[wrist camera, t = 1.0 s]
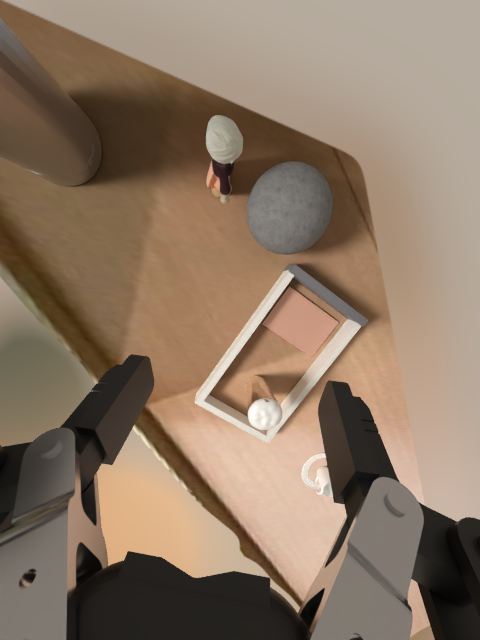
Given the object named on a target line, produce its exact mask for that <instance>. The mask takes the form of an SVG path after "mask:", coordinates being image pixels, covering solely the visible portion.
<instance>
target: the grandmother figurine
mask: <svg viewBox="0 0 480 640" xmlns="http://www.w3.org/2000/svg"><path fill="white" fill-rule="evenodd" d="M206 146H207V150H208V152H209V153H210V155H211V157H212V161H211V164H210V168H209V171H208V175H207V180H206V184H207V187H208V188H210V187H211V186H212V193H213V195H214V196H215V197H220V200H221V202H222V203H223V204H227V203H228V202H229V195H230V194H231V192H232V186H231V184H230V181H229V177H230V175H231V173H232V171H233V169H234V160H235V159H237V158H238V157H239V156H240V154H241V153H242V150H243V137H242V135H241V133H240V131H239V129H238V127H237V125H236V124H235V122H234V121H233V120H231V119H229V118H227V117H225V116H221V115H215V116H213V117H212V118H211V119H210V121H209V122H208V126H207V133H206Z"/></svg>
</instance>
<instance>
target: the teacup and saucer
mask: <svg viewBox="0 0 480 640" xmlns="http://www.w3.org/2000/svg"><path fill="white" fill-rule="evenodd" d="M320 458H326V455H325V453H320V454H317V455H315V456H313V457H311V458H310V459H309V460H308V461H307V462H306V463H305V464H304V466H303V468H302V478H303V481H304V482H305V483H306V484H307V485H308V486H310V487H312V488H315V491H316V493H317V494H318V495H322V494H323V493H324V495H326V496H329V497H331V496H333V493H332V488H331V482H330V477H329V471H328V468H327V467H325V466H322V467H320V468H319V469H318V470H317V477H316V480H315V482H313V481H311V480H310V479H309V477H308V468H309V466H310V465H311V464H312V463H313V462H314V461H315V460H317V459H320ZM318 481H319V483H318ZM317 489H321V492H320V493H318V492H317Z"/></svg>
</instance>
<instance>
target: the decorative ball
mask: <svg viewBox="0 0 480 640" xmlns="http://www.w3.org/2000/svg"><path fill="white" fill-rule="evenodd" d="M332 209H333V198H332V193H331V189H330V186H329V184H328V182H327V180H326V179H325V177H324V176H323V175H322V174H321V173H320V172H319V171H318V170H317V169H316V168H314V167H313V166H311V165H309V164H306V163H303V162H297V161H289V162H283V163H280V164H278V165H275V166H273V167H271V168H270V169H268V170H267V171H266V172H265V173H264V174H263V175H262V176H261V177H260V178H259V179H258V180H257V182H256V183H255V184H254V186H253V188H252V190H251V193H250V195H249V198H248V203H247V221H248V225H249V228H250V231H251V233H252V235H253V236H254V238H255V239H256V241H257V242H258V243H259V244H260V245H261V246H262V247H264V248H265V249H267V250H269V251H271V252H273V253H277V254H284V255H288V254H295V253H299V252H301V251H304V250H306V249H308V248H309V247H311V246H312V245H313V244H315V243H316V242H317V241H318V240H319V239H320V237H321V236H322V235H323V233H324V232H325V230H326V229H327V227H328V224H329V222H330V219H331V215H332Z"/></svg>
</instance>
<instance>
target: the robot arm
mask: <svg viewBox="0 0 480 640" xmlns="http://www.w3.org/2000/svg"><path fill="white" fill-rule="evenodd" d="M0 156H1V157H3V158H5V159H7V160H9V161H11V162H13V163H15V164H17V165H19V166H21V167H23V168H25V169H27V170H29V171H31V172H33V173H35V174H37V175H39V176H41V177H43V178H45V179H47V180H49V181H51V182H53V183H56V184H59V185H63V186H76V185H81V184H83V183H85V182H87V181H88V180H89V179H91V178H92V177H93V176H94V174H95V173H96V172H97V170H98V168H99V165H100V163H101V157H102V145H101V141H100V137H99V134H98V132H97V130H96V128H95V126H94V125H93V123H92V122H91V120H90V119H89V118H88V117H87V115H86V114H85V113H84V112H83V111H82V110H81V109H80V108H79V106H78V105H77V104H76V103H75V102H74V101H73V100H72V98H71V97H70V96H69V95H68V94H67V93H66V91H65V90H64V89H63V88H62V87H61V86H60V85H59V84H58V82H57V81H56V80H55V79H54V78H53V77H52V76H51V75H50V73H49V72H48V71H47V70H46V69H45V68H44V67H43V66H42V64H41V63H40V62H39V61H38V60H37V59H36V58H35V56H34V55H33V54H32V53H31V52H30V51H29V50H28V49H27V47H26V46H25V45H24V44H23V43H22V42H21V41H20V40H19V38H18V37H17V36H16V35H15V34H14V33H13V32H12V31H11V29H10V28H9V27H8V26H7V25H6V24H5V23H4V22H3V20H2V19H1V18H0ZM153 387H154V377H153V372H152V367H151V362H150V358H149V357H147V356H139V355H130V356H129V357H128V358H127V359H126V360H125V362H124V363H123V364H122V365H116V366H114V367H113V368H112V369H110V370H109V371H107V372H106V373H105V374H104V375H103V377H102V378H101V379H100V380H99V381H98V384H96V385H95V386H94V388H93V389H92V390H91V392H90V393H89V394H88V395H87V396H86V397H85V399H84V400H83V401H82V402H81V403H80V405H79V406H78V407H77V408H76V409H75V411H74V412H73V413H72V414H71V415H70V417H69V418H68V419H67V420H66V421H65V423H64V424H63V425H62V426H61V427H60V428H56V429H53V430H50V431H47V432H45V433H44V434H42V435H40V436H39V437H38V438H37V439H35V440H34V441H33V442H30V443H24V444H17V445H11V446H5V447H1V446H0V640H409V638H410V634H411V628H412V610H411V607H410V606H409V604H408V601H407V596H408V590H409V586H410V581H411V579H413V580H414V581H416V582H417V583H418V586H419V589H420V593H421V596H422V599H423V602H424V606H425V609H426V612H427V615H428V619H429V622H430V625H431V628H432V632H433V635H434V638H435V640H480V520H478V519H475V518H470V517H468V518H464V519H461V520H460V521H458V522H456V521H454V520H452V519H450V518H448V517H446V516H444V515H442V514H440V513H438V512H436V511H434V510H432V509H430V508H428V507H426V506H424V505H422V504H421V503H419V502H418V501H417V499H416V498H415V496H414V495H413V494H412V493H411V492H410V491H409V490H408V489H407V488H406V487H405V486H404V485H403V484H401V483H400V482H399V480H398V478H397V476H396V474H395V472H394V469H393V467H392V464H391V462H390V459H389V457H388V454H387V452H386V449H385V447H384V444H383V442H382V439H381V437H380V434H378V429H377V427H376V424H375V423H374V419H373V417H372V414H371V412H370V409H369V408H368V406H367V405H366V404H365V403H364V402H363V400H362V399H361V398H360V397H354V396H353V395H352V392H351V390H350V387H349V385H348V383H344V382H337V381H328V382H327V384H326V386H325V389H324V392H323V394H322V397H321V400H320V402H319V407H318V416H319V422H320V427H321V433H322V438H323V444H324V449H325V455H326V460H327V466H328V471H329V477H330V482H331V488H332V493H333V498H334V503H340V504H345V509H346V514H347V515H346V517H345V519H344V521H343V523H342V525H341V527H340V530H339V532H338V534H337V536H336V538H335V540H334V542H333V545H332V547H331V549H330V551H329V553H328V555H327V557H326V559H325V562H324V564H323V566H322V568H321V570H320V572H319V573H318V575H317V577H316V578H315V580H314V582H313V583H312V585H311V587H310V589H309V591H308V593H307V595H306V597H305V599H304V601H303V604H302V606H301V608H300V610H299V612H298V613H297V612H296V610H295V609H294V608H293V607H292V605H291V604H290V603H289V602H288V601H287V600H286V599H285V598H284V597H283V596H281V595H280V594H279V593H278V592H277V591H275V590H274V589H272V588H271V587H270V578H267V577H262V576H257V575H251V574H246V573H241V572H235V571H233V572H227V573H222V574H217V575H212V576H207V577H202V578H193V577H191V576H190V575H188V574H186V573H185V572H183V571H182V570H180V569H179V568H177V567H175V566H174V565H172V564H171V563H169V562H167V561H166V560H165V559H163V558H161V557H156V556H150V555H145V554H140V553H135V552H129V551H128V552H127V555H126V557H125V560H124V561H121V562H118V563H115V564H112V565H110V566H108V558H107V550H106V544H105V540H104V537H103V534H102V529H101V519H100V507H99V494H98V481H97V473H96V472H97V471H98V469H99V467H100V465H101V464H102V463H103V464H109V465H112V464H113V462H114V461H115V459H116V457H117V455H118V453H119V452H120V450H121V448H122V446H123V444H124V442H125V441H126V439H127V437H128V435H129V433H130V431H131V430H132V428H133V426H134V424H135V422H136V420H137V419H138V417H139V415H140V413H141V411H142V409H143V408H144V406H145V404H146V402H147V400H148V398H149V397H150V395H151V393H152V390H153Z"/></svg>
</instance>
